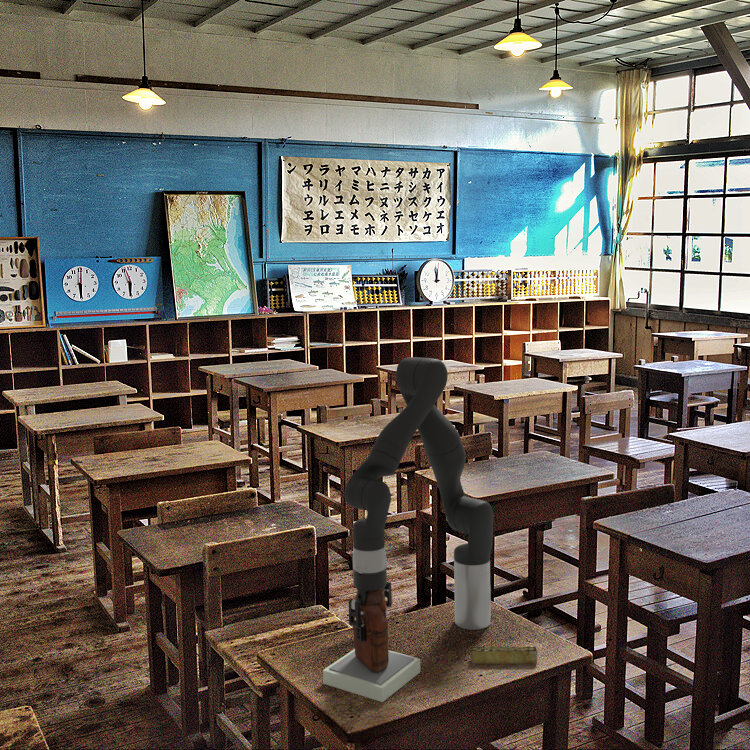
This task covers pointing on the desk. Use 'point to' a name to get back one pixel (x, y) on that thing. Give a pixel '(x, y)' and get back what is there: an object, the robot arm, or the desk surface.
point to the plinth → (371, 675)
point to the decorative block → (504, 655)
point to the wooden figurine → (374, 633)
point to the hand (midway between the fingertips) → (371, 634)
